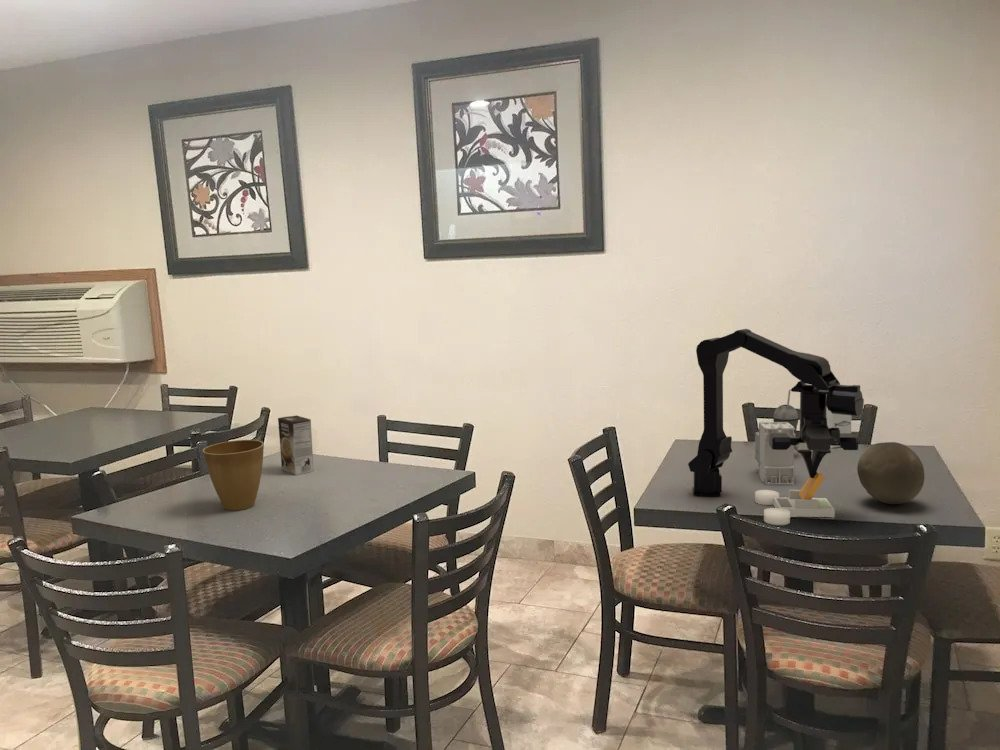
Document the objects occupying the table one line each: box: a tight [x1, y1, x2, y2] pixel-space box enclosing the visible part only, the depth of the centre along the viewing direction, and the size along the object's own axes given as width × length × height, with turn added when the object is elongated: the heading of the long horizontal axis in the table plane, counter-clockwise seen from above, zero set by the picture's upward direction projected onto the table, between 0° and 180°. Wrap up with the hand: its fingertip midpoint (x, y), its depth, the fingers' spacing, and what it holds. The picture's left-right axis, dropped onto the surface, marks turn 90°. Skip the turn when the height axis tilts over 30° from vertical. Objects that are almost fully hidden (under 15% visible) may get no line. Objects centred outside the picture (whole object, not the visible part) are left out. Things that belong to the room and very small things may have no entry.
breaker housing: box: [772, 489, 836, 518], centre depth 189 cm, size 12×9×4 cm
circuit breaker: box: [754, 421, 796, 485], centre depth 218 cm, size 8×14×15 cm, turn 174°
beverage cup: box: [772, 389, 800, 446], centre depth 239 cm, size 7×7×20 cm
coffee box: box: [277, 414, 315, 476], centre depth 241 cm, size 9×6×16 cm
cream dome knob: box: [754, 489, 780, 506], centre depth 197 cm, size 6×6×2 cm
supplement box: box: [826, 408, 853, 449], centre depth 251 cm, size 7×7×13 cm
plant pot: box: [202, 439, 265, 512], centre depth 207 cm, size 15×15×16 cm
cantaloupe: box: [856, 441, 926, 505], centre depth 192 cm, size 14×14×15 cm
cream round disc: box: [763, 507, 791, 526], centre depth 183 cm, size 6×6×2 cm
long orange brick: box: [799, 470, 825, 500], centre depth 188 cm, size 2×5×8 cm, turn 170°
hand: (811, 477), depth 188 cm, fingers closed
